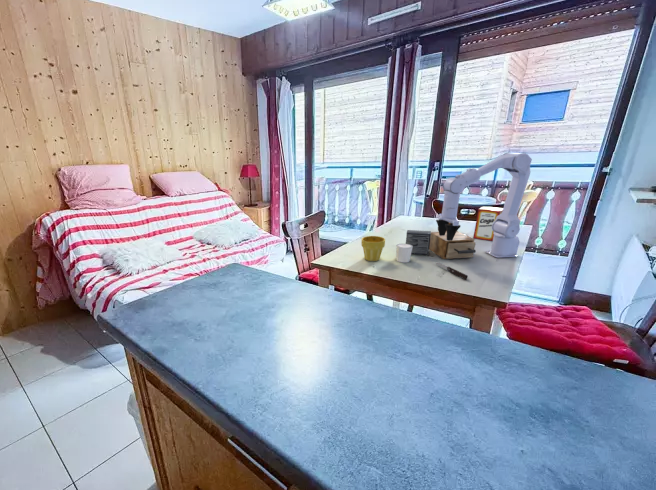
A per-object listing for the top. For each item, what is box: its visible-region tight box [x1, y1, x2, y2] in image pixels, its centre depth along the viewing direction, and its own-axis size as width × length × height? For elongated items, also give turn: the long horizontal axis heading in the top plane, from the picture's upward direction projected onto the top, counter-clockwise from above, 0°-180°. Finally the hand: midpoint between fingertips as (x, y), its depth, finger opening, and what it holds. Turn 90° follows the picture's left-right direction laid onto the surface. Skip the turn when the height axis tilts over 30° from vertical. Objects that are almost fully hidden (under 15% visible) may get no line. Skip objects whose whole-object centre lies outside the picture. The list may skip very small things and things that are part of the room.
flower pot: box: [360, 235, 386, 262], centre depth 151 cm, size 10×10×10 cm
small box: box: [405, 229, 432, 256], centre depth 155 cm, size 11×6×10 cm, turn 65°
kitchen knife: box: [434, 262, 469, 281], centre depth 133 cm, size 18×1×2 cm, turn 12°
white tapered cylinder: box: [395, 243, 413, 263], centre depth 147 cm, size 7×7×7 cm
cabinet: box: [429, 230, 475, 260], centre depth 152 cm, size 15×13×9 cm
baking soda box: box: [472, 206, 503, 242], centre depth 168 cm, size 10×6×16 cm
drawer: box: [445, 241, 477, 260], centre depth 148 cm, size 18×11×7 cm, turn 1°
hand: (445, 237), depth 144 cm, fingers open, 7 cm apart
